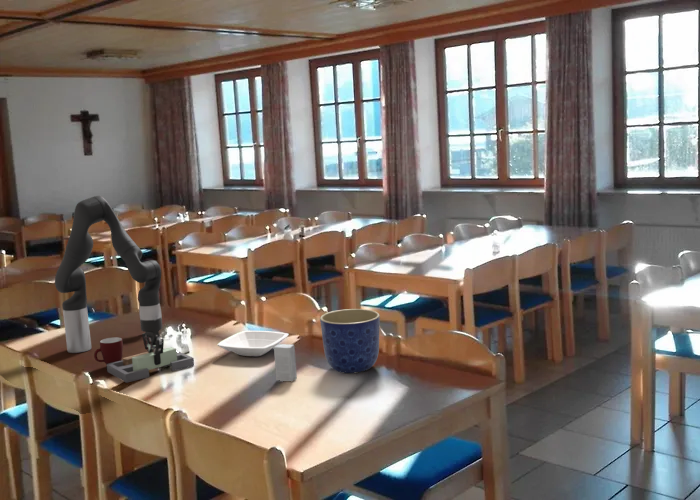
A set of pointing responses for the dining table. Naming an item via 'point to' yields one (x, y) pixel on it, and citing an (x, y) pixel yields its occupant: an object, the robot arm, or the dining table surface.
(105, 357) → the mug
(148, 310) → the robot arm
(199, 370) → the dining table surface
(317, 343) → the dining table surface
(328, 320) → the planter
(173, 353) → the sage slat
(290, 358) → the skincare box
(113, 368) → the frame
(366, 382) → the dining table surface
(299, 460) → the dining table surface
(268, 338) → the bowl
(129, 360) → the walnut slat
